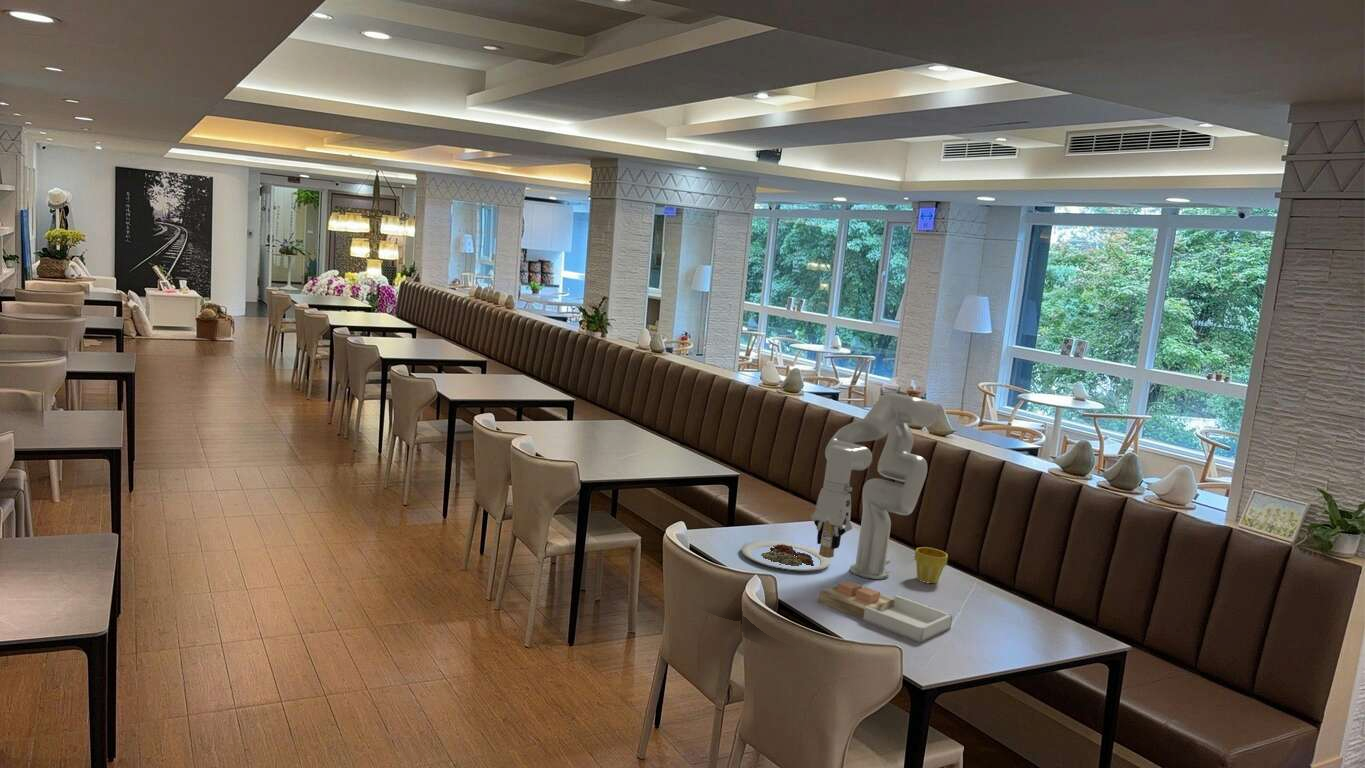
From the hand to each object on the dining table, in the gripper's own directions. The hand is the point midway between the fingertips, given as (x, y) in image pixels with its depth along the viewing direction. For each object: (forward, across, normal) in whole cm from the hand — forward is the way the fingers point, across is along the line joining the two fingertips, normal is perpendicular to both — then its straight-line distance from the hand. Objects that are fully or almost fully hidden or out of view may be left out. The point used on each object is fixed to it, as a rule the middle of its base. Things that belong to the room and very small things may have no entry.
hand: (827, 545), depth 285 cm
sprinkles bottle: (+4, 0, 0) cm, 4 cm away
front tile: (+12, -16, 0) cm, 20 cm away
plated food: (+15, +26, -17) cm, 35 cm away
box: (+15, -29, 0) cm, 33 cm away
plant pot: (+15, -13, -43) cm, 48 cm away
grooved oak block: (+15, -12, 0) cm, 19 cm away
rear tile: (+12, -9, 0) cm, 15 cm away
